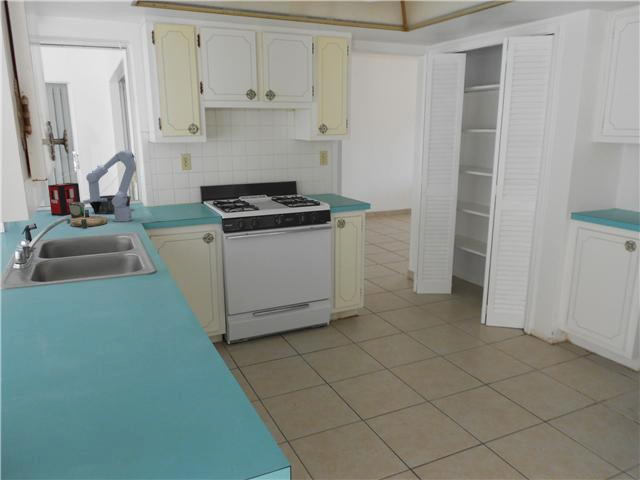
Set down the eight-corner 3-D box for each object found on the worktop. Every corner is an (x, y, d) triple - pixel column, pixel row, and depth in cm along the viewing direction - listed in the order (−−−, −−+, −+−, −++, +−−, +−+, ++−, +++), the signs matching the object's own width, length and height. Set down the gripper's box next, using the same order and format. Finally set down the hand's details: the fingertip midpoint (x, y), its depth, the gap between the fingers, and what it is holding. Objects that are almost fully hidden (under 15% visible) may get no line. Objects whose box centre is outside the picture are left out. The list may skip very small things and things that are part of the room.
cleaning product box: (71, 211, 342) (68, 182, 338) (81, 212, 340) (78, 183, 335) (51, 215, 327) (48, 185, 323) (62, 216, 324) (58, 186, 320)
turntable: (108, 224, 294) (107, 212, 293) (71, 227, 285) (70, 215, 283) (104, 219, 311) (103, 208, 310) (69, 222, 302) (68, 210, 300)
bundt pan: (132, 213, 335) (131, 199, 332) (90, 216, 325) (88, 201, 323) (131, 207, 359) (130, 194, 356) (92, 210, 349) (90, 196, 347)
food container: (90, 218, 317) (89, 202, 315) (81, 219, 312) (80, 204, 310) (78, 216, 323) (77, 201, 321) (70, 217, 318) (68, 202, 316)
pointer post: (86, 228, 285) (85, 219, 284) (82, 228, 285) (81, 220, 284) (88, 226, 290) (87, 218, 288) (83, 227, 289) (82, 218, 288)
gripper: (102, 190, 313) (104, 211, 316) (79, 193, 302) (82, 214, 305) (108, 191, 309) (110, 212, 312) (85, 193, 298) (87, 215, 301)
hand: (96, 213), depth 309 cm, fingers closed
